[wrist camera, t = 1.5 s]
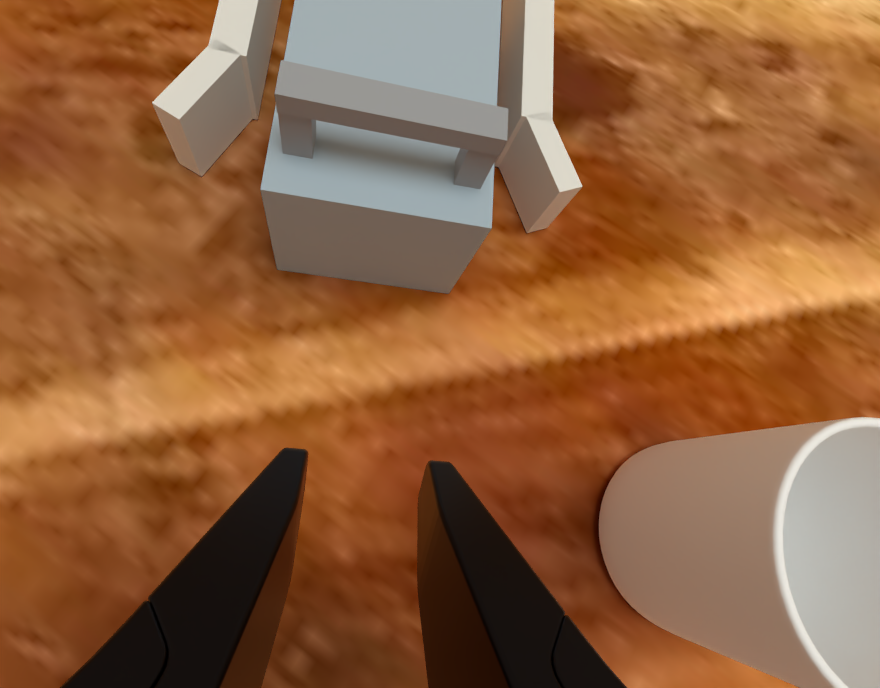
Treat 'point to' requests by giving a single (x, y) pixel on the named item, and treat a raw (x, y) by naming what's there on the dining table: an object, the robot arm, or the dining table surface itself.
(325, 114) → the box with loop handle
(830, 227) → the dining table surface
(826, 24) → the dining table surface
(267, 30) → the bay
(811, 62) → the dining table surface
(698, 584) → the mug
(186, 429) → the dining table surface
